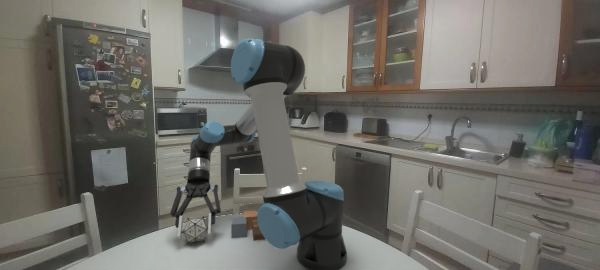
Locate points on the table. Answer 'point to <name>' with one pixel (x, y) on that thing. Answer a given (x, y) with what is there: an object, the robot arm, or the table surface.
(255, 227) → the walnut block
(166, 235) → the table surface
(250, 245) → the table surface
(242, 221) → the slate block
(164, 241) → the table surface
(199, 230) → the game die
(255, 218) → the terracotta block
